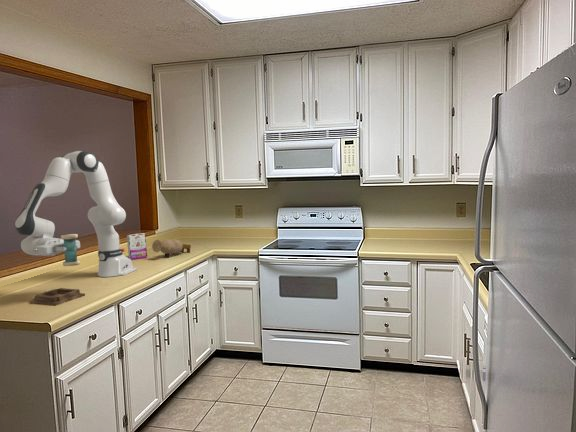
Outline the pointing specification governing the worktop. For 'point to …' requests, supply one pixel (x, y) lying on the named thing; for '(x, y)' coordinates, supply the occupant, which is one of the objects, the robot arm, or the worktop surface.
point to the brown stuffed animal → (170, 247)
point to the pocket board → (57, 296)
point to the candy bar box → (137, 246)
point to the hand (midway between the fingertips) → (71, 247)
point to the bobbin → (70, 250)
